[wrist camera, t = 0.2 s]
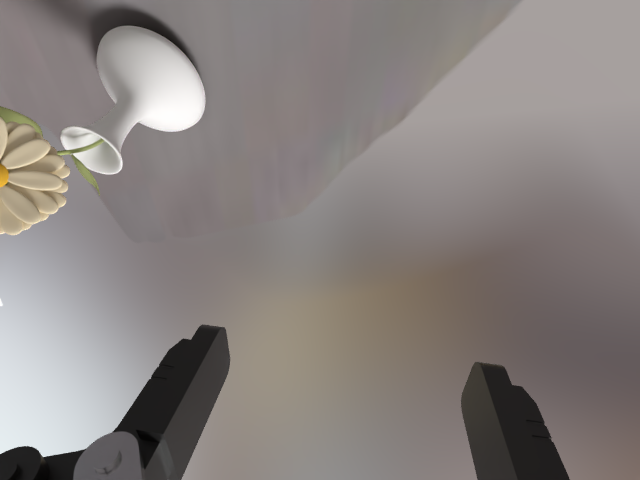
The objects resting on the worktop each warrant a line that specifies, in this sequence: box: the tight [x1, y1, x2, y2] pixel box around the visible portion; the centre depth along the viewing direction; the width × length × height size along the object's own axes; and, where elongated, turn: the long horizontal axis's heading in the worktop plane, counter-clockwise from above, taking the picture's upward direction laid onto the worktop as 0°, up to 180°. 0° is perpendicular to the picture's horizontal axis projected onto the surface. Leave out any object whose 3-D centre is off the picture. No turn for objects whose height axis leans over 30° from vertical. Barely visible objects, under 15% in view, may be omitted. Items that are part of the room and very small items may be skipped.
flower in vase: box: [0, 26, 205, 235], centre depth 30 cm, size 13×11×25 cm
